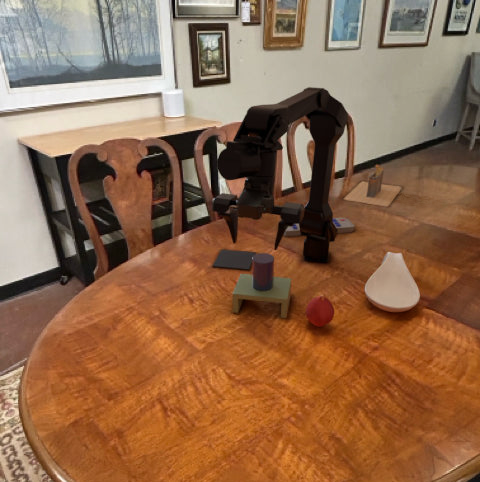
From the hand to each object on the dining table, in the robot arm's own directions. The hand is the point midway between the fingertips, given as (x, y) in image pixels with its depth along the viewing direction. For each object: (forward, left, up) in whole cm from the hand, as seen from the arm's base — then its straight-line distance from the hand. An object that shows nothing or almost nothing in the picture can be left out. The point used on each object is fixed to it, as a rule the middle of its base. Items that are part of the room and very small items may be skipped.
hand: (255, 246), depth 91 cm
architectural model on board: (-32, -83, -14) cm, 90 cm away
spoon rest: (-31, -10, -14) cm, 36 cm away
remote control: (-12, -44, -14) cm, 48 cm away
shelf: (-2, +1, -14) cm, 14 cm away
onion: (-15, +7, -14) cm, 22 cm away
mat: (+9, -19, -14) cm, 25 cm away
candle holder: (-2, +1, -9) cm, 9 cm away
